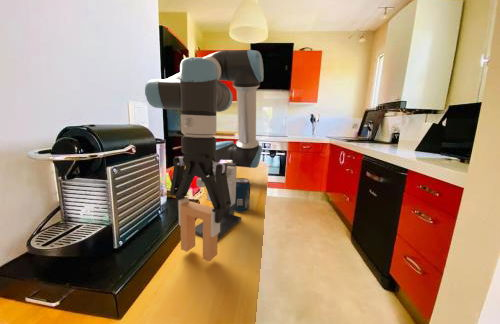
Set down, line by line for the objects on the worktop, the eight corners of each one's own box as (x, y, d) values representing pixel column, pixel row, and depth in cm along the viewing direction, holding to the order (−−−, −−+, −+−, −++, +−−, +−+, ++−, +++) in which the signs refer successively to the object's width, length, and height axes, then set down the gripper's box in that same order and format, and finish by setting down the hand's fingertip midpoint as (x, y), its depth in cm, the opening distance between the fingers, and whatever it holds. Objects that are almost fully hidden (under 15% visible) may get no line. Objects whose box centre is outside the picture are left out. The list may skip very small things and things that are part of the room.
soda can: (233, 205, 83) (234, 177, 81) (250, 206, 83) (251, 178, 80) (230, 212, 76) (231, 182, 74) (248, 213, 76) (249, 183, 73)
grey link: (212, 197, 69) (213, 163, 67) (235, 203, 65) (236, 167, 63) (207, 200, 66) (207, 164, 64) (230, 206, 62) (231, 168, 60)
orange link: (189, 243, 54) (189, 200, 51) (217, 254, 50) (218, 209, 47) (180, 249, 51) (180, 204, 49) (209, 261, 47) (210, 214, 45)
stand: (219, 214, 74) (221, 161, 71) (241, 220, 71) (243, 164, 67) (187, 235, 60) (186, 170, 56) (212, 244, 56) (213, 175, 52)
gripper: (150, 132, 46) (155, 222, 50) (231, 140, 37) (228, 251, 41) (176, 131, 53) (178, 211, 57) (250, 138, 43) (245, 234, 48)
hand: (198, 228), depth 49 cm, fingers closed on orange link, 9 cm apart
